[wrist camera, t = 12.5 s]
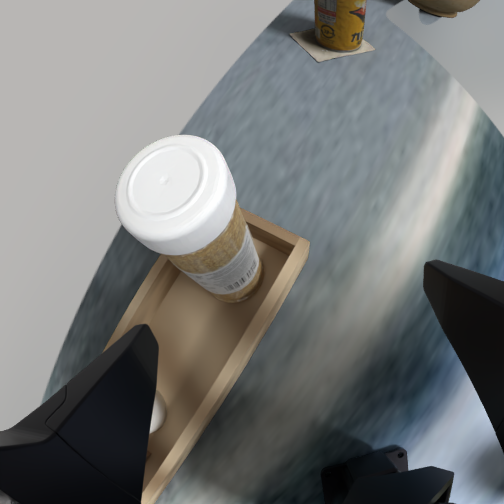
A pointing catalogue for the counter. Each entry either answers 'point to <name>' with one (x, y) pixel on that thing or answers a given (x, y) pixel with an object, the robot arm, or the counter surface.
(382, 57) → the counter surface
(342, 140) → the counter surface
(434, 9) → the decorative pitcher
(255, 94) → the counter surface
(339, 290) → the counter surface
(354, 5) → the condiment
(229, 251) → the sprinkles bottle
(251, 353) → the wooden tray
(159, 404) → the white rounded lump
